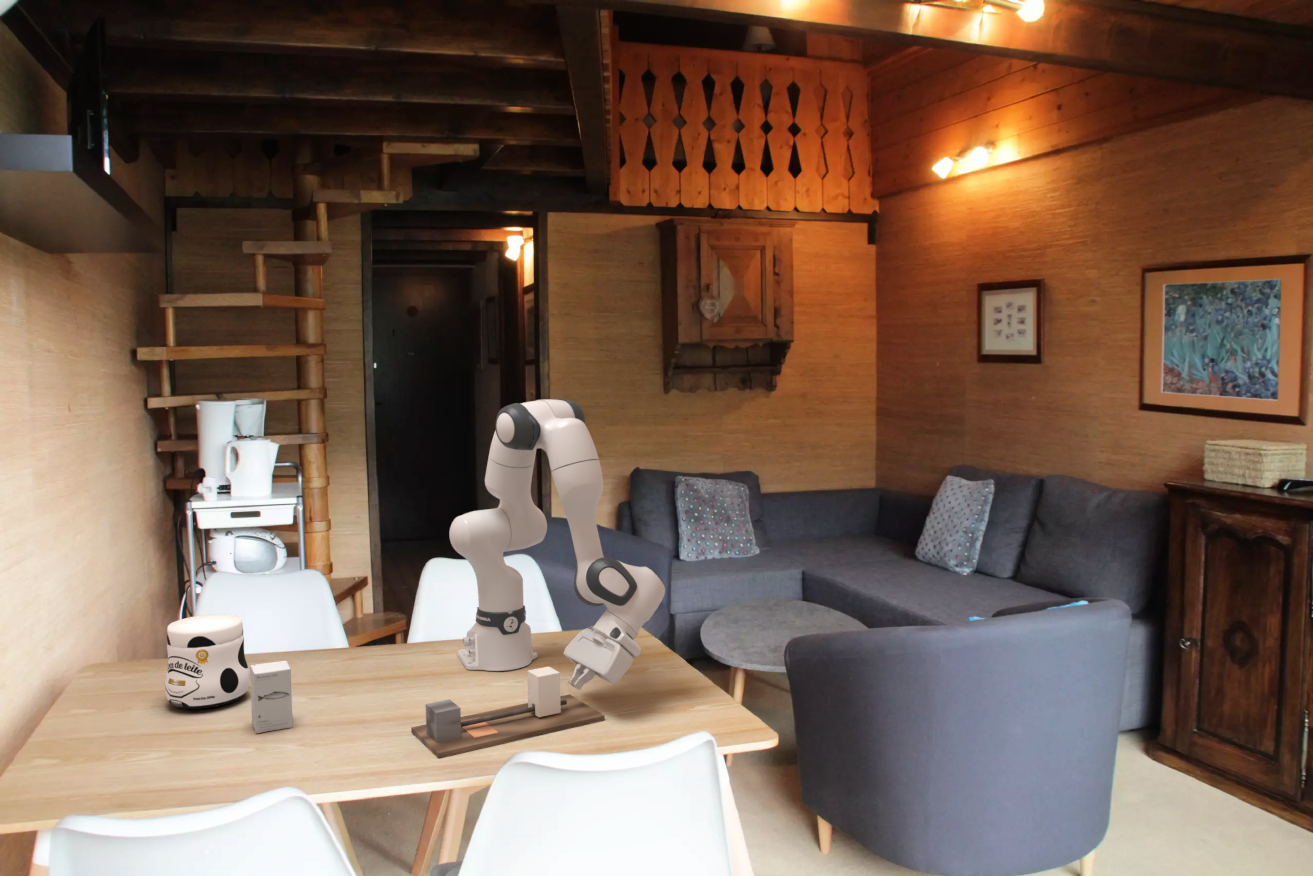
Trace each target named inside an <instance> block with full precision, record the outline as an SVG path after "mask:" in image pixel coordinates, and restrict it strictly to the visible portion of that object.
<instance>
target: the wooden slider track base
mask: <svg viewBox="0 0 1313 876" xmlns="http://www.w3.org/2000/svg"><path fill="white" fill-rule="evenodd" d="M560 703H561V713H556V714H552V715H547V716H543V717H538V716H536V715H535V712H533V711H535V706H533V707H529V708H528V702H524V703H522V704H516V705H512V706H511V705H510V706H508V707H507V706H506V707H502V708H497V709H493V710H488V711H483V712H479V713H474V714H469V715H464V716H461V714H462V713H461V707H460V706H459V705H457V703H455V702H453V701H452V700H451V699H446V700H445V699H444V700H441V701H439V700H438V701H434V702H429V703H426V704H425V724H420V725H417V726H411V727H410V731H411V733H412V734H413V736H415V737H416V739H418V740H419V741H420V742H421V743H422V745H424V746H425V747H426V748H427V749H428V750H429V751H430V752H431V753H432V754H433V755H434V754H435V755H436V756H435V755H434V756H435V757H436V758H437V759H441V758H445V757H449V756H454V755H458V754H462V753H467V752H472V751H476V750H480V749H485V748H489V747H492V746H493V747H494V746H498V745H502V744H506V743H510V742H515V741H519V740H524V739H528V738H532V737H537V736H541V735H546V734H549V733H553V732H559V731H563V730H567V729H571V728H575V727H580V726H584V725H589V724H593V723H597V722H598V723H599V722H601V721H605V718H606V717H605V716H606V715H605V714H603V713H601V712H600V711H599V710H596V708H593V707H591V706H590V705H588V704H587V703H585V702H583V701H582V700H581V699H579V698H577V697H575V696H573V694H570V693H569V694H564V695H560Z"/></svg>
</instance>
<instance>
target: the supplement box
mask: <svg viewBox="0 0 1313 876" xmlns="http://www.w3.org/2000/svg"><path fill="white" fill-rule="evenodd" d="M291 672H292V671H291V667H290V665H289V663H288V660H281V661H272V662H264V663H256V664H250V665H249V673H250V681H249V683H250V699H251V700H250V701H251V724H252V726H253V729H255V730H254V732H255V734H256V733H257V734H260V733H265V732H271V731H278V730H284V729H285V730H286V729H292V728H293V726H294V724H293V723H294V722H293V720H294V719H293V703H292V697H293V696H292V673H291Z"/></svg>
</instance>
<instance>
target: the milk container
mask: <svg viewBox="0 0 1313 876" xmlns="http://www.w3.org/2000/svg"><path fill="white" fill-rule="evenodd" d="M166 641H167V643H166V644H167V645H166V650H167V670H166V674H165V677H164V692H165V696H166V699H167V701H168V703H169V704H170V705H172V706H174V707H176V708H179V709H185V710H187V709H188V710H190V709H192V710H193V709H195V710H201V709H208V708H209V709H210V708H211V709H212V708H215V707H221V706H223V705H227V704H230V703H232V702H233V703H234V702H235V701H237V700H239V699H240V698H242V697H244V695H245V694H246V693H247V692H248V690H249V687H250V667H249V666H248V665H249V664H248V663H247V659H246V656H245V637H244V626H243V621H242V617H241V616H238V615H235V614H227V613H218V614H217V613H216V614H213V613H212V614H202V615H197V616H190V617H189V616H188V617H186V618H182V619H178V620H176V621H173V622H171V623H170V624H168V625H167V629H166Z"/></svg>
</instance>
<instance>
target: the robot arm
mask: <svg viewBox="0 0 1313 876" xmlns="http://www.w3.org/2000/svg"><path fill="white" fill-rule="evenodd" d="M494 427H495V428H494V429H495V431H494V433H493V437H492V440H491V443H490V446H489V447H490V448H489V452H488V453H489V454H488V459H487V465H486V468H485V469H486V470H485V476H484V485H485V488H486V490H487V491H488V493H489V494H490V495H492V496H493V497H495V498H496V499H498V500H499V504H498V506H497V507H495V508H489V509H487V508H486V509H478V510H473V511H469V512H465V513H463V514H462V515H458V516H456V517H455V518H454V519H453V521H452V522H451V525H450V527H449V532H448V533H449V535H448V536H449V541H450V544H451V547H452V548H453V549H454V550H455V552H456V553H458V554H459V555H460V556H462V557H463V558H464V559H466V561H468V563H469V564H470V566H471V567H472V569H473V572H474V575H475V579H476V585H477V597H478V606H477V607H476V613H475V623H474V624H473V626H471V627H470V629H469V630H468V631H467V632H466V636H465V637H463V638H462V645H463V648H461V649H459V650H457V657H458V658H459V659H460V661H461V662H462V665H463V666H464V668H465V669H466V670H471V671H475V670H480V671H489V672H490V671H491V672H500V671H501V672H502V671H503V672H504V671H513V670H517V669H520V668H521V669H522V668H524V667H526V666H528V665H530V664H531V663H532V661H533V660H535V659H537V658H538V652H536V651H533V650H534V649H533V638H532V631H531V626H530V625H529V624H528V623H526V619H527V618H526V617H527V616H526V614H527V610H526V606H525V605H524V580H523V576H522V574H521V573H520V572H519V570H517V569H516V568H515V567H512V566H510V565H507V564H506V562H505V558H504V553H505V552H512V551H518V550H524V549H528V548H530V547H533V546H535V545H538V544H540V543H542V542H543V541H544V539H545V538H546V535H547V530H548V522H547V518H546V516H545V514H544V513H543V511H542V510H541V509H540V508H539V507H538V506H536V505H535V502H534V501H533V498H532V492H531V489H532V481H533V478H532V477H533V473H534V468H535V462H536V460H535V459H536V453H537V449H541V450H543V451H544V452H545V453H546V456H547V458H548V459H547V460H548V464H549V468H550V473H551V476H552V480H553V483H554V485H555V489H556V492H557V496H558V497H559V501H560V503H561V506H562V509H563V512H564V515H565V517H566V520H567V524H568V528H569V533H570V534H569V535H570V538H571V542H572V548H573V552H574V556H575V563H576V564H575V571H574V572H575V573H574V577H573V578H574V579H573V588H574V592H575V594H576V596H577V598H578V599H579V600H580V601H581V602H582V603H584V605H587V606H591V607H601V606H604V605H605V607H606V609H605V611H604V612H603V613H602V615H601V616H600V617H599V619H598V620H597V621H596V622H595V624H594V625H591V626H589V627H586V628H584V629H582V630H581V631H579V632H578V633H577V634H576V635H575V636H574V638H572V640H571V641H570V642H568V645H566V647H565V648H564V651H563V656H565V657H566V658H567V659H568V660H569V662H571V663H573V664H575V668H574V671H573V674H572V676H571V678H570V679H569V680H568V684H569V685H570V686H572V687H573V688H575V689H577V690H578V691H579V690H581V689H582V688H583V687H584V686H585V684H587V683H589V682H590V681H592V680H594V678H595V676H597V677H599V678H601V679H603V680H605V681H606V682H609V683H610V684H612V685H613V684H616V683H617V682H619V681H620V680H621V679H622V678H623V676H624V675H625V674H626V673H627V671H628V670H629V669H630V667H631V666H632V664H633V662H634V658H635V659H636V658H638V657H639V656H640V655H641V653H642V648H641V647H640V646H639V644H638V643H637V641H636V638H637V637H638V635H639V634H640V631H641V629H642V627H643V626H644V625H645V624H646V623H647V622H648V621H649V620H650V619H651V618H652V616H653V615H654V614H655V612H656V611H657V609H658V608H659V606H660V604H661V603H662V601H663V599H664V597H665V594H666V586H665V584H664V581H663V580H662V579H661V577H660V576H659V575H658V574H657V573H656V571H653V570H652V569H651V568H650V567H647V566H636V565H633V564H632V565H631V564H628V563H624V562H622V561H620V560H617V559H616V558H614V557H609V556H607V557H606V556H604V553H603V550H602V549H603V548H602V544H601V539H600V534H599V531H598V526H597V511H598V506H599V503H600V500H601V497H602V495H603V492H604V480H603V477H604V476H603V472H602V471H603V469H602V465H601V463H600V458H599V455H598V452H597V448H596V446H595V442H594V440H593V438H592V436H591V433H590V431H589V429H588V427H587V426H586V419H585V413H584V411H583V409H582V407H581V405H579V403H578V402H575V401H574V400H571V399H568V398H567V399H566V398H559V399H549V398H548V399H536V400H532V401H525V402H522V403H521V402H520V403H518V402H515V403H511V404H508V405H505V406H503V407H502V408H501V409H500V410H499V411H498V413H497V414H496V419H495V426H494Z"/></svg>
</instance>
